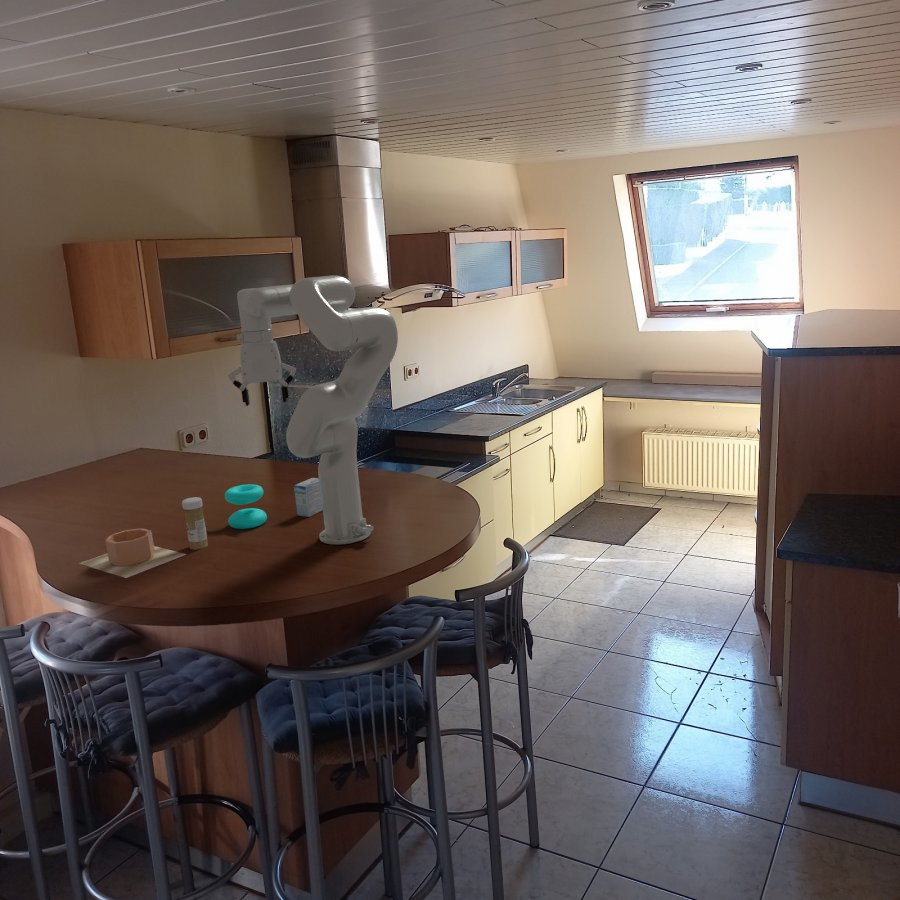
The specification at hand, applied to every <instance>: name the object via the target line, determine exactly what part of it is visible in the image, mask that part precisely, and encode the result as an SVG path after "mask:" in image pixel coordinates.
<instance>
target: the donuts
mask: <svg viewBox="0 0 900 900" xmlns="http://www.w3.org/2000/svg"><path fill="white" fill-rule="evenodd" d="M263 495H264V489H263V486H261V485H258V484H253V483H252V484H249V483H248V484H241V485H240V484H239V485H236V486H232V487H231V488H229V489H227V490H226V491H225V493H224V498H225V500H226V501H227V502H228V503H230V504H232V505H247V504H248V505H249V504H252V503H255V502H257V501H259V500H260V499H261V498H262V497H263ZM267 519H268V515H267V513H266V512H265V511H264V510H262V509H259V508H257V507H256V508H255V507H253V508H252V507H250V508H242V509H239V510H237V511H234V512H233V513H232V514H231V515H230V516H229V517H228V521H227V522H228V525H229V526H230V527H231V528H233V529H235V530H236V529H237V530H245V529H247V530H249V529H253V528H257V527H259V526H262V525H264V523H265V522H267Z"/></svg>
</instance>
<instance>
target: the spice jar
mask: <svg viewBox="0 0 900 900" xmlns="http://www.w3.org/2000/svg"><path fill="white" fill-rule="evenodd" d="M181 505H182V509H183V511H184V517H185V525H186V526H185V527H186V532H187V540H188V544H189V545H188V546H189V549H190V550H194V551H195V550H201V549H202V550H203V549H204V548H206V547H208V546H209V545H208V544H209V543H208V536H207V528H206V522H205V517H204V511H203V499H202V498H201V497H199V496H198V497H197V496H195V497H194V496H193V497H187V498H185V499H183V500H182V501H181Z"/></svg>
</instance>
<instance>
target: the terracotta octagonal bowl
mask: <svg viewBox="0 0 900 900" xmlns="http://www.w3.org/2000/svg"><path fill="white" fill-rule="evenodd" d="M154 543H155V542H154V539H153V533H152V530H151V529H146V528H134V529H133V528H132V529H125V530H122V531H120V532H115V533H113V534H110V535H109V536H108V537H107V538H106V539H105V547H106V552H107V553H108V559H109V561H110V562H111V564H112V565H114V566H132V565H136V564H140V563H143V562H146V561H148V560H150V559H151V558H153V556H154V551H155V549H154V546H155V544H154Z"/></svg>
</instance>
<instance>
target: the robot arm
mask: <svg viewBox="0 0 900 900" xmlns="http://www.w3.org/2000/svg"><path fill="white" fill-rule="evenodd" d="M236 298H237V305H238V312H239V313H238V314H239V319H240V321H239V322H240V327H241V333H239V334H236V339H237V341H241V342H242V344H240V347H239V360H240V367H238V368H236V369H235V370H233V371H232V372H230V373H229V374H228V375H227V376H228V379H229V380H230V381H231V383H232V384H233V386H235V387H236V388H237V389H238V390H239V391H241V399H242V403H244V404H245V407H248V406H250V394H249V390H248V388H247V387H248V385H249V384H257V383H267V382H276V381H277V382H279V383H280V384H281V395H282V401H283V403H286V402H287V401H288V399H289V398H290V395H289V387H288V386H289V384H291V382H292V381H293V379H294V377H295V374H296V373H297V368H296V367H294V366H291V365H289V364H287V363H284V362H282V359H281V355H280V350H279V347H278V343H277V341H276V340H274V335H273V334H274V333H273V328H272V318H278V317H279V318H280V317H284V316H285V317H286V316H294V315H298V317H299V318H300V319H301V321H302V322H303V323H304V325H305V326H306V327H307V328H308V329H309V331H311V333H312V334H313V336H315V337H316V339H317V340H318V341H319V342H320V344H322V345H323V347H325V348H326V349H327V350H330V351H333V352H343V351H348V350H349V351H350V350H353V349H358V350H356V352H354V353H353V354H352V355H351V356H350V357H349V359H348V360H346V362H345V364H344V365H343V368H342V371H341V372H340V374H339V376H338V377H337V378H336V379H334V380H332V381H328V382H324V383H320V384H315V385H312V386H311V387H308V388H307V389H306V390H305V391H304V392H303V393H302V395H301V396H300V398H299V400H298V402H297V405H296V407H295V409H294V411H293V413H292V415H291V418H290V420H289V423H288V426H287V429H286V435H285V437H286V445H287V447H288V450H289V452H291V454H292V455H294V456H295V457H297V458H301V459H309V458H313V457H317V456H320V458H319V460H318V461H319V462H318V467H317V469H318V470H317V472H318V473H317V474H318V478H319V483H320V492H321V500H322V509H323V511H322V516H323V524H324V529H323V530H322V531H321V532H320V533H319V534H318V535H319V536H318V537H319V541H320V542H322V543H324V544H326V545H327V544H328V545H338V546H339V545H347V544H354V543H357V542H361V541H363V540H365V539H367V538H369V536H370V535H371V534H372V531H374V525H372V524H367V518H366V517H364V515H363V510H362V498H361V489H360V481H359V480H360V479H359V470H358V467H359V466H358V459H357V454H358V453H357V450H358V449H357V447H358V445H357V444H358V432H359V431H358V423H357V420H356V419H357V418H358V417H360V416H361V415H362V414H363V413H364V411H365V410H366V408H367V406H368V404H369V402H370V400H371V398H372V397H373V394H374V392H375V391H376V388H377V386H378V384H379V383H380V380H381V379H382V377H383V376H384V374H385V372H386V371H387V369H388V368H389V366H390V364H391V362H392V361H393V359H394V357H395V356H396V355H395V354H396V352H397V347H398V342H399V340H398V339H399V337H398V334H399V333H398V327H397V324H396V319H394V316H393V315H392V314H391V313H390V312H389V311H388V310H386V309H384V308H381V307H374V306H367V307H358V308H352V309H350V307H351V306H353V303H355V298H356V288H355V287H354V285H353V283H352V282H351V281H350V280H348V279H347V278H346V277H344V276H341V275H324V276H312V277H305V278H301V279H299V280H297V281H296V282H295V283H294V284H282V285H272V286H263V287H255V288H254V287H253V288H252V287H251V288H243V289H240V290H238V291H237V294H236ZM283 370H286V371H288V372H289V375H288V377H287V378H285V377H284V376H283V372H284V371H283ZM239 374H241V379H242V382H241V381H239V380H238V379H237V376H238V375H239Z"/></svg>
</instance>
